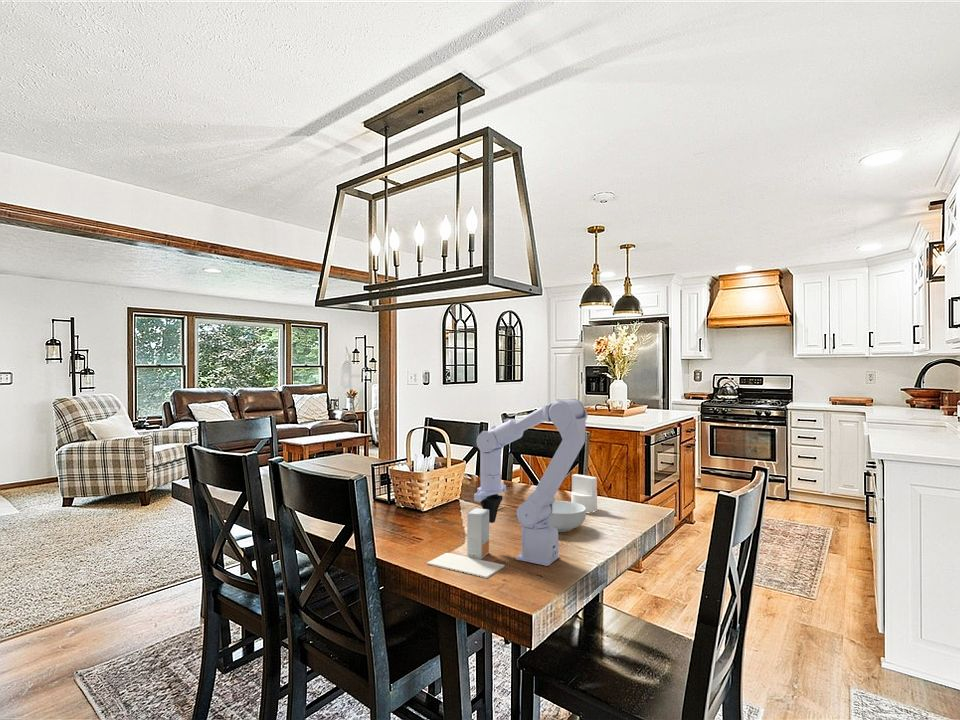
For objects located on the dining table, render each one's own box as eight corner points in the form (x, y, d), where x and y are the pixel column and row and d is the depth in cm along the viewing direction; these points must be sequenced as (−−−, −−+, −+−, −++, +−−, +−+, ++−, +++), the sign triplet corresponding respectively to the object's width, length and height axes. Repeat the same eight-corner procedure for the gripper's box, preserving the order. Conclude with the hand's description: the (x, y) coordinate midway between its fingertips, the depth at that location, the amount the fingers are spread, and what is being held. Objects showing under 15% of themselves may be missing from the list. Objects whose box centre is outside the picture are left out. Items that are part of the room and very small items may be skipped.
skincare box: (481, 560, 144) (481, 514, 144) (466, 558, 145) (466, 513, 145) (489, 552, 149) (489, 509, 149) (475, 550, 151) (475, 507, 151)
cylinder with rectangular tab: (602, 510, 193) (601, 476, 194) (587, 515, 187) (587, 480, 187) (580, 505, 200) (580, 472, 200) (566, 510, 193) (566, 476, 193)
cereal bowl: (597, 532, 168) (597, 509, 168) (553, 540, 160) (553, 516, 160) (563, 518, 183) (563, 497, 183) (522, 525, 175) (522, 503, 175)
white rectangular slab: (504, 566, 139) (504, 565, 139) (486, 578, 131) (486, 576, 131) (446, 553, 148) (446, 552, 148) (426, 564, 141) (426, 562, 141)
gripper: (491, 467, 161) (491, 513, 161) (464, 476, 149) (464, 526, 149) (512, 470, 158) (512, 517, 157) (486, 479, 145) (486, 530, 145)
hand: (490, 522), depth 153 cm, fingers closed
